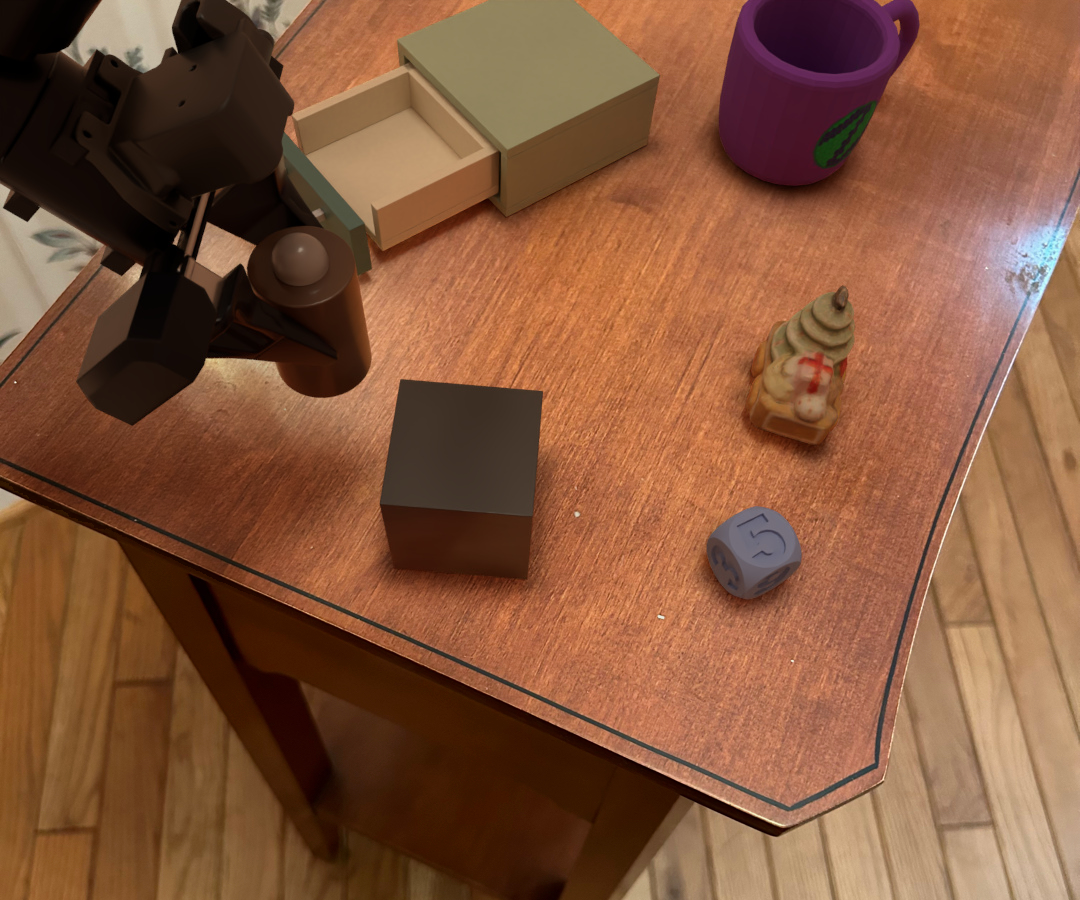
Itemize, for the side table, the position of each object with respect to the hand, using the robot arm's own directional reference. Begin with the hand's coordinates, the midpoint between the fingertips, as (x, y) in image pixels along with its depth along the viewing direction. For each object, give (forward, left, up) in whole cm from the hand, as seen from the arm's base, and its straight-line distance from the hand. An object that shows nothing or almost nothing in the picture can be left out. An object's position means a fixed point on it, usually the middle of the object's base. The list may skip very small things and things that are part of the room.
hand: (341, 318), depth 47 cm
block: (+7, -2, -13) cm, 15 cm away
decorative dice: (+24, +1, -14) cm, 28 cm away
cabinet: (-1, +32, -13) cm, 35 cm away
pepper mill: (-1, 0, -4) cm, 4 cm away
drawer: (-9, +20, -13) cm, 25 cm away
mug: (+20, +40, -14) cm, 47 cm away
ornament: (+24, +14, -14) cm, 31 cm away
